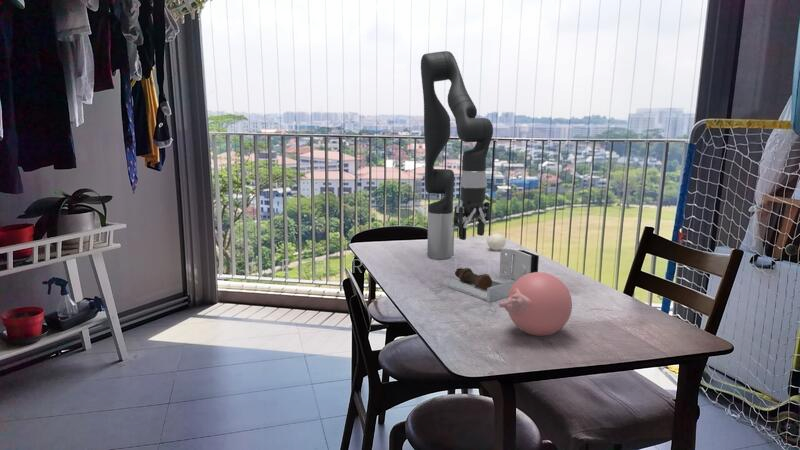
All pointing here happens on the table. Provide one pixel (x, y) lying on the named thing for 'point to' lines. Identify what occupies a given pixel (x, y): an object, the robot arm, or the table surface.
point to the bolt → (474, 278)
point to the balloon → (538, 304)
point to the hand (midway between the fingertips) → (471, 237)
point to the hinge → (517, 263)
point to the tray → (492, 293)
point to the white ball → (496, 241)
